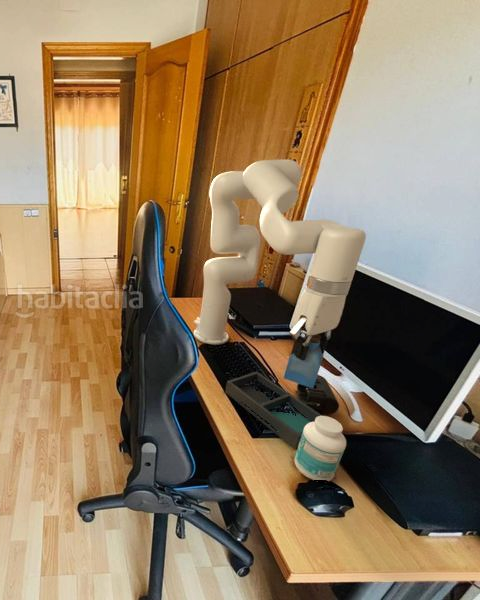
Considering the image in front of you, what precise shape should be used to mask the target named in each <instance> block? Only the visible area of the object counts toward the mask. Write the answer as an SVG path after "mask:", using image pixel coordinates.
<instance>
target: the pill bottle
mask: <svg viewBox="0 0 480 600" xmlns="http://www.w3.org/2000/svg"><path fill="white" fill-rule="evenodd" d="M343 430H344V428H343V425H342V424H341V422H339V420H336V419H335V418H333V417H331V416H328V415H324V416H318V417H316V419H315V422H310V423H308V424H307V425H306V426H305V427H304V430H303V433H302V436H301V439H300V442H299V446H298V448H296V453H295V455H294V459H293V460H294V464H295V467H296V469H297V470H298V471H299V472H300V473H301V474H302V475H303V476H305V477H306V478H308V479H310V480H312V481H314V480H327V481H328V482H330V481H332V480H333V478H335V475H336V473H337V470H338V467H339V464H340V462H341V459H342V457H343V454H344V452H345V450H346V447H347V439H346V437H345V436H344V434H343Z"/></svg>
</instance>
